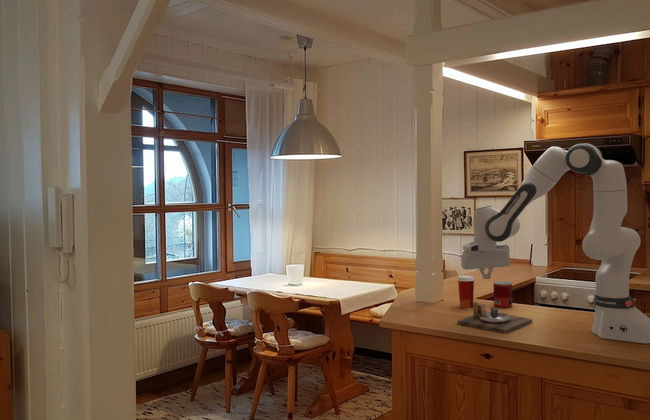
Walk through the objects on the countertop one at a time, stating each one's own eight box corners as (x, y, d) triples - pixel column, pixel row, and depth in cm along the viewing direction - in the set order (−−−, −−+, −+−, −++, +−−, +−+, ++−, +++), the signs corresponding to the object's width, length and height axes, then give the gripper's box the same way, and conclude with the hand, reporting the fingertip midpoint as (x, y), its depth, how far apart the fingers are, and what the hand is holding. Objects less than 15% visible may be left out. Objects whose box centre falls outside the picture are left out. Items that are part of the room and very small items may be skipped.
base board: (532, 322, 233) (532, 303, 232) (506, 333, 220) (505, 313, 219) (484, 314, 249) (483, 295, 249) (457, 324, 236) (456, 304, 235)
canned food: (513, 308, 257) (512, 284, 256) (494, 308, 258) (494, 284, 258) (511, 304, 264) (510, 280, 264) (493, 304, 266) (492, 280, 265)
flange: (515, 318, 234) (515, 305, 234) (500, 324, 226) (499, 311, 225) (483, 312, 245) (482, 300, 245) (467, 318, 237) (466, 306, 236)
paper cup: (469, 304, 268) (468, 274, 267) (478, 308, 260) (477, 277, 259) (454, 306, 265) (453, 276, 264) (463, 310, 258) (462, 279, 257)
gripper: (505, 242, 244) (507, 275, 244) (459, 246, 241) (460, 279, 242) (512, 244, 238) (513, 277, 238) (464, 248, 235) (466, 281, 236)
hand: (486, 278), depth 240 cm, fingers closed
